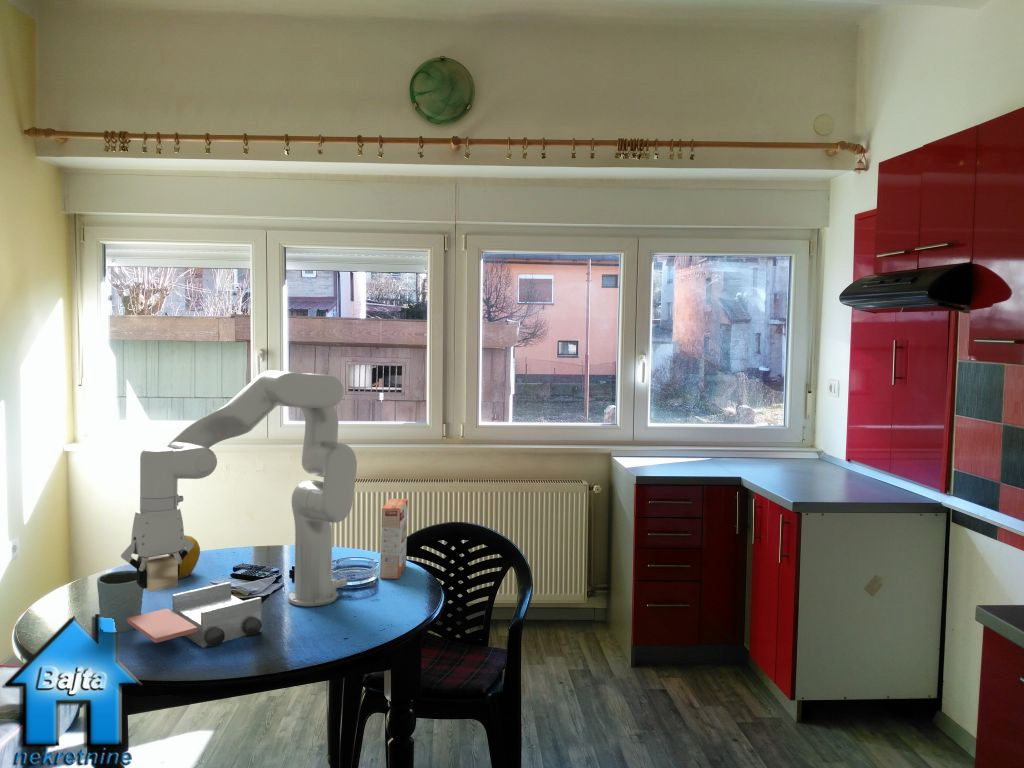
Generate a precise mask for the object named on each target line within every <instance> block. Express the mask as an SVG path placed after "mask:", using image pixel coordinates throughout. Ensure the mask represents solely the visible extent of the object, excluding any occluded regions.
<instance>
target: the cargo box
mask: <svg viewBox="0 0 1024 768" xmlns="http://www.w3.org/2000/svg"><path fill="white" fill-rule="evenodd" d="M145 570H146V571H147V588H145V589H144V590H147V591H148V592H150V593H151V592H154V591H160V590H164V589H169V588H174V587H178V586H179V583H178V581H179V579H178V559H176V558H174V557H172V556H170V555H168V554H165V555H160V556H154V557H149V559H148V562H147V564H146V567H145Z"/></svg>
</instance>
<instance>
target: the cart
mask: <svg viewBox="0 0 1024 768" xmlns="http://www.w3.org/2000/svg"><path fill="white" fill-rule="evenodd" d="M172 612H174V613H176V614H177V615H179V616H180V617H182V618H183V619H185V620H187V621H188V622H190V623H191V624H193V625H195V626H196V627H197V632H195V633H191V634H187V635H183V636H184V637H186V638H187V639H189V640H190V641H192V642H193V643H195V644H197V646H199V647H201V648H207V646H208V647H212V648H213V647H215V646H216V647H218V646H220V645H221V644H222V643H225V642H228V640H229V641H231V640H232V641H233V640H235V638H236V639H239V638H243V637H246V636H250V637H252V636H253V637H254V636H256V635H258V634H259V632H262V626H263V623H262V597H260V596H258V597H254V598H250V599H245V600H242V599H240V598H238V597H236V596H234V595H233V594H232V582H230V581H227V582H224V583H218V584H214V585H211V586H210V585H209V586H206V587H200V588H197V589H191V590H188V591H187V590H186V591H182V592H178V593H174V594H172ZM242 636H243V637H242ZM216 647H215V648H216Z"/></svg>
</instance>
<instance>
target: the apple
mask: <svg viewBox="0 0 1024 768" xmlns="http://www.w3.org/2000/svg"><path fill="white" fill-rule="evenodd" d="M184 536H185V537H186V538H188V539H189V540H190V541H191V542H192V543H193V544H194V547H193V548H192V549H191V550H190V551H189V552H188V554H187V555H186V556H185V557H184V559H183V560H182V563H181V564H180V575H179V577H178V580H179V579H182V578H185V577H188V576H190V575H191V574H192V572H193V571H194V569H195V568H196V566H197V563H198V561H199V558H200V555H201V547H200V545H199V542H198V540H197V539H195V538H194V537H193V536H190V535H185V534H184ZM168 555H169V554H168Z"/></svg>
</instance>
